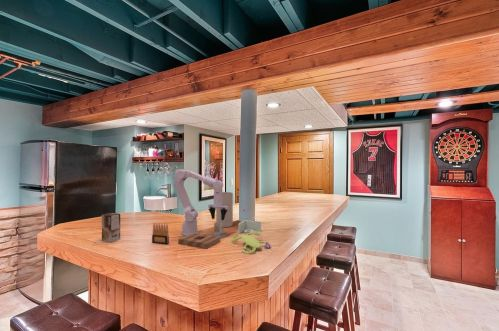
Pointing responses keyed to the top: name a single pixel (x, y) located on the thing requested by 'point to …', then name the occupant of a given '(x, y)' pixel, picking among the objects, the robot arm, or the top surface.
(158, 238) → the ammunition clip
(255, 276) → the top surface
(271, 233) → the top surface
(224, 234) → the rubber mat
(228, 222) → the cylinder vase
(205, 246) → the walnut board
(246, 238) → the figurine
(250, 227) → the l-shaped corner panel
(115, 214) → the coffee box
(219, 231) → the steel peg
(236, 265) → the top surface
